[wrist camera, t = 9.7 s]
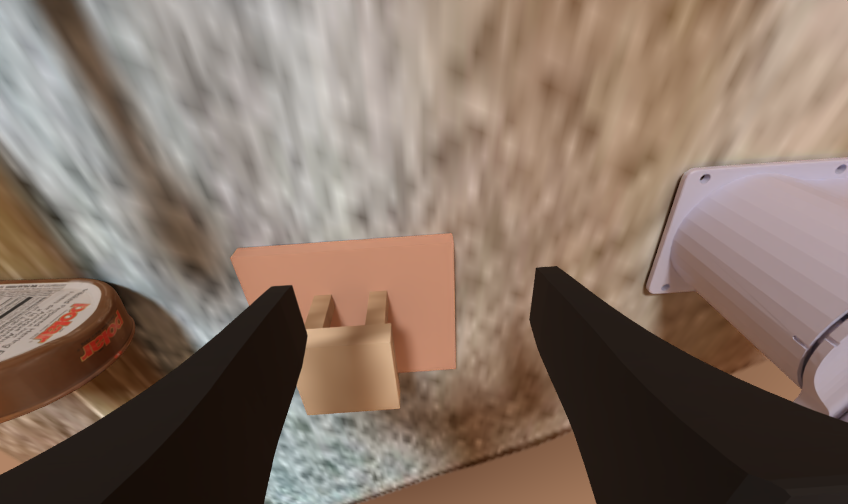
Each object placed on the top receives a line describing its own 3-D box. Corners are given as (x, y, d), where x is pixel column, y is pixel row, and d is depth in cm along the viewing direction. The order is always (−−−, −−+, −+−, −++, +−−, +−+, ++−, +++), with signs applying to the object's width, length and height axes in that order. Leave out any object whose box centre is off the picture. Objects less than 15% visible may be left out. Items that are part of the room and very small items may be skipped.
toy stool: (393, 284, 21) (390, 342, 17) (400, 346, 24) (399, 408, 20) (305, 290, 21) (283, 349, 17) (323, 352, 24) (307, 415, 20)
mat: (451, 233, 21) (453, 242, 20) (454, 357, 26) (455, 368, 25) (237, 248, 21) (230, 257, 20) (283, 369, 26) (279, 381, 25)
